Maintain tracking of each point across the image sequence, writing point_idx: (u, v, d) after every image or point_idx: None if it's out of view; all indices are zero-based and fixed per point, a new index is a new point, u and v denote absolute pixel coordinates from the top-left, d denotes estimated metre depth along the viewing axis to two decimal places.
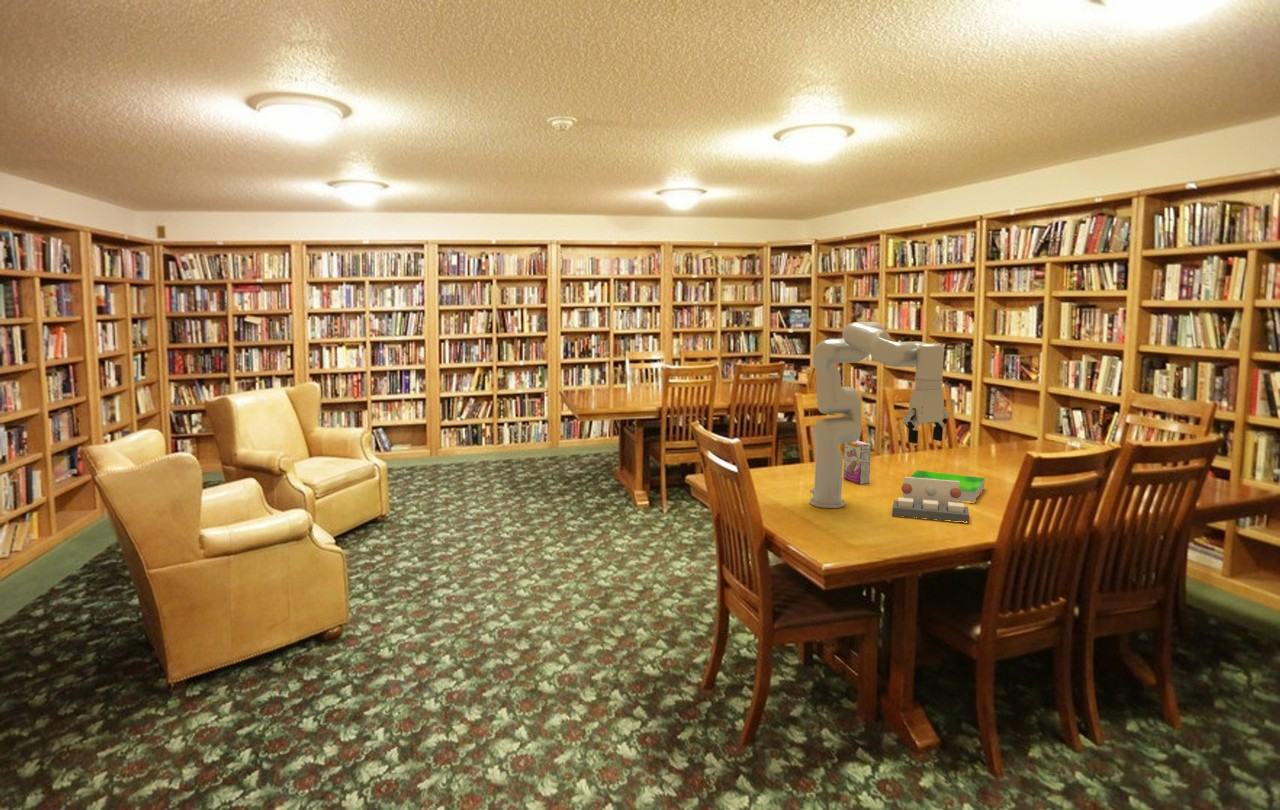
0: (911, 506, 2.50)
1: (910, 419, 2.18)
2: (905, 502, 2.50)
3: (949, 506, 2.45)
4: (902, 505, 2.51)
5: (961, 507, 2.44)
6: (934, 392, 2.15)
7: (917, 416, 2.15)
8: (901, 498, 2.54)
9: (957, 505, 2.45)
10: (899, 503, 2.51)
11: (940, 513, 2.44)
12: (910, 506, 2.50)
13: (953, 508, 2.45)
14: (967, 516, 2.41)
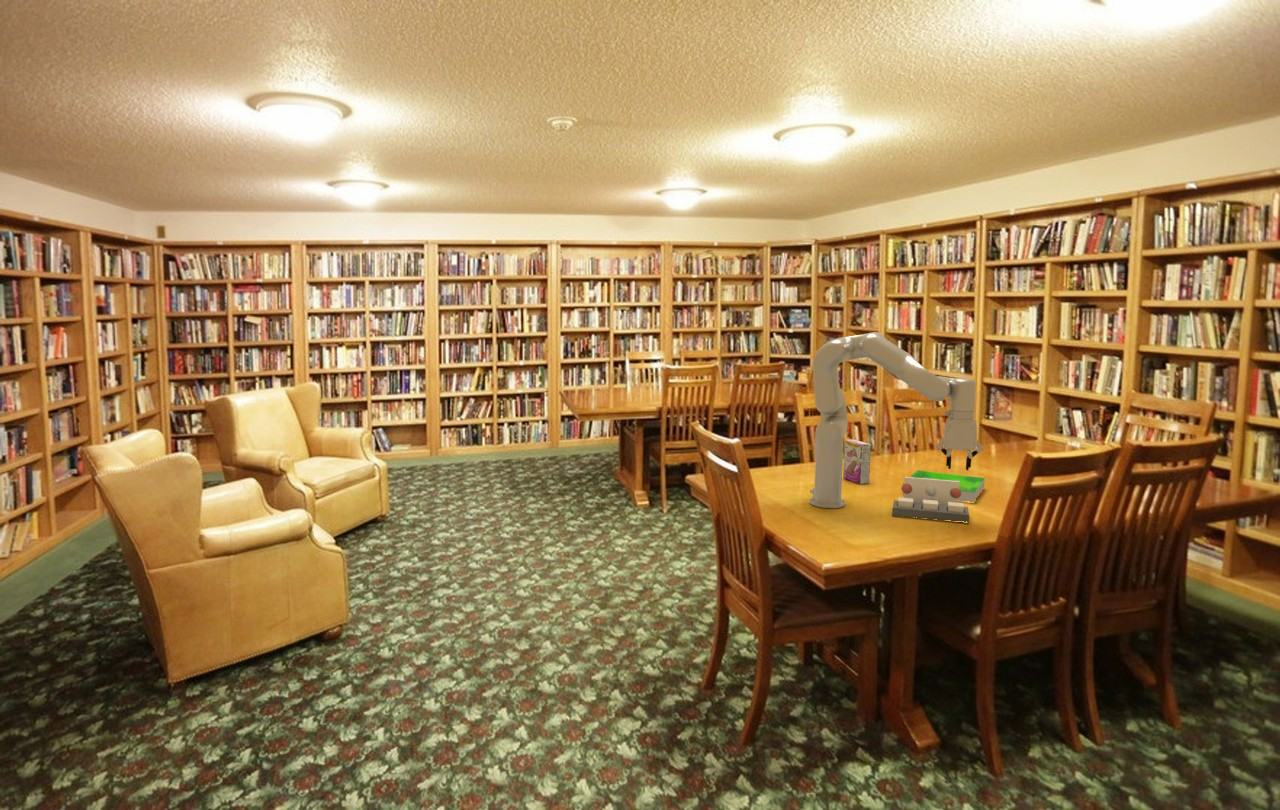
0: (911, 506, 2.50)
1: (975, 447, 2.41)
2: (905, 502, 2.50)
3: (949, 506, 2.45)
4: (902, 505, 2.51)
5: (961, 507, 2.44)
6: None
7: None
8: (901, 498, 2.54)
9: (957, 505, 2.45)
10: (899, 503, 2.51)
11: (940, 513, 2.44)
12: (910, 506, 2.50)
13: (953, 508, 2.45)
14: (967, 516, 2.41)
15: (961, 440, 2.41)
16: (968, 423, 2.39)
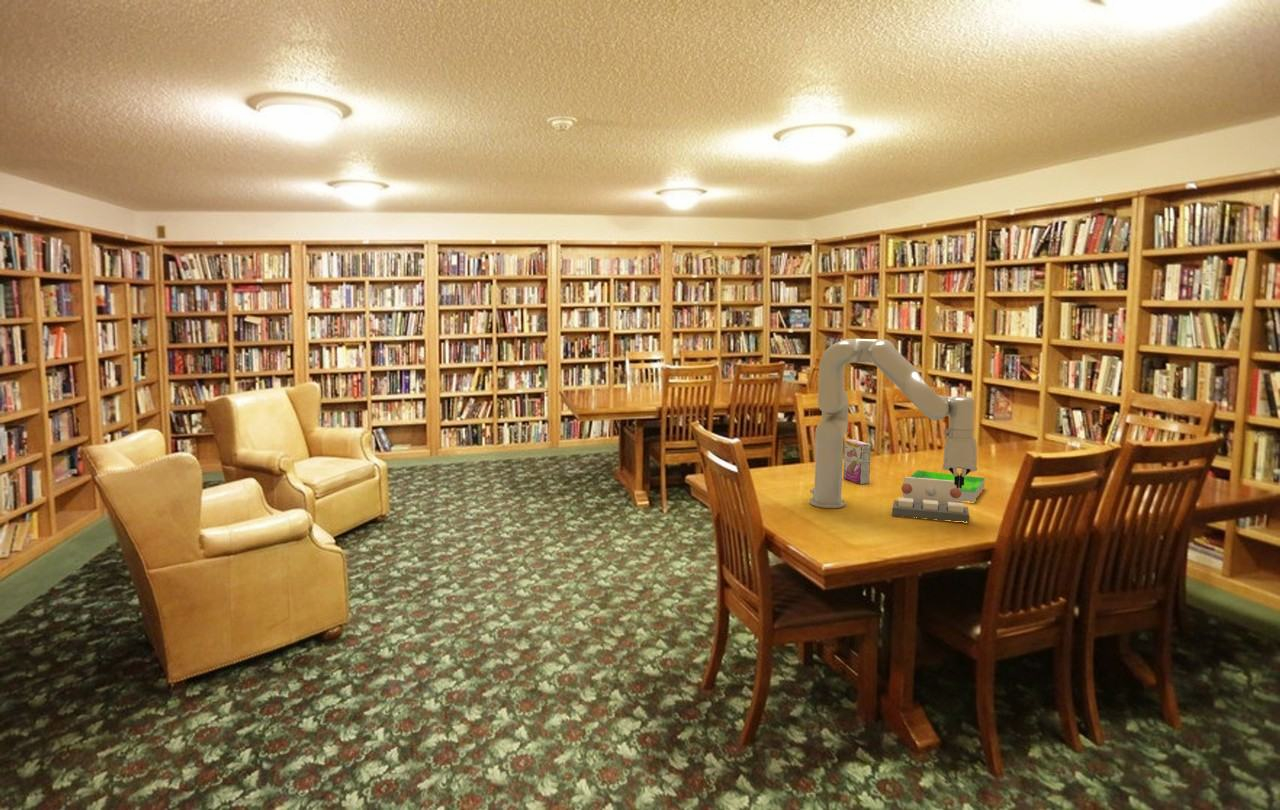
0: (911, 506, 2.50)
1: (975, 465, 2.41)
2: (905, 502, 2.50)
3: (949, 506, 2.45)
4: (902, 505, 2.51)
5: (961, 507, 2.44)
6: None
7: None
8: (901, 498, 2.54)
9: (957, 505, 2.45)
10: (899, 503, 2.51)
11: (940, 513, 2.44)
12: (910, 506, 2.50)
13: (953, 508, 2.45)
14: (967, 516, 2.41)
15: (961, 458, 2.42)
16: (968, 441, 2.40)
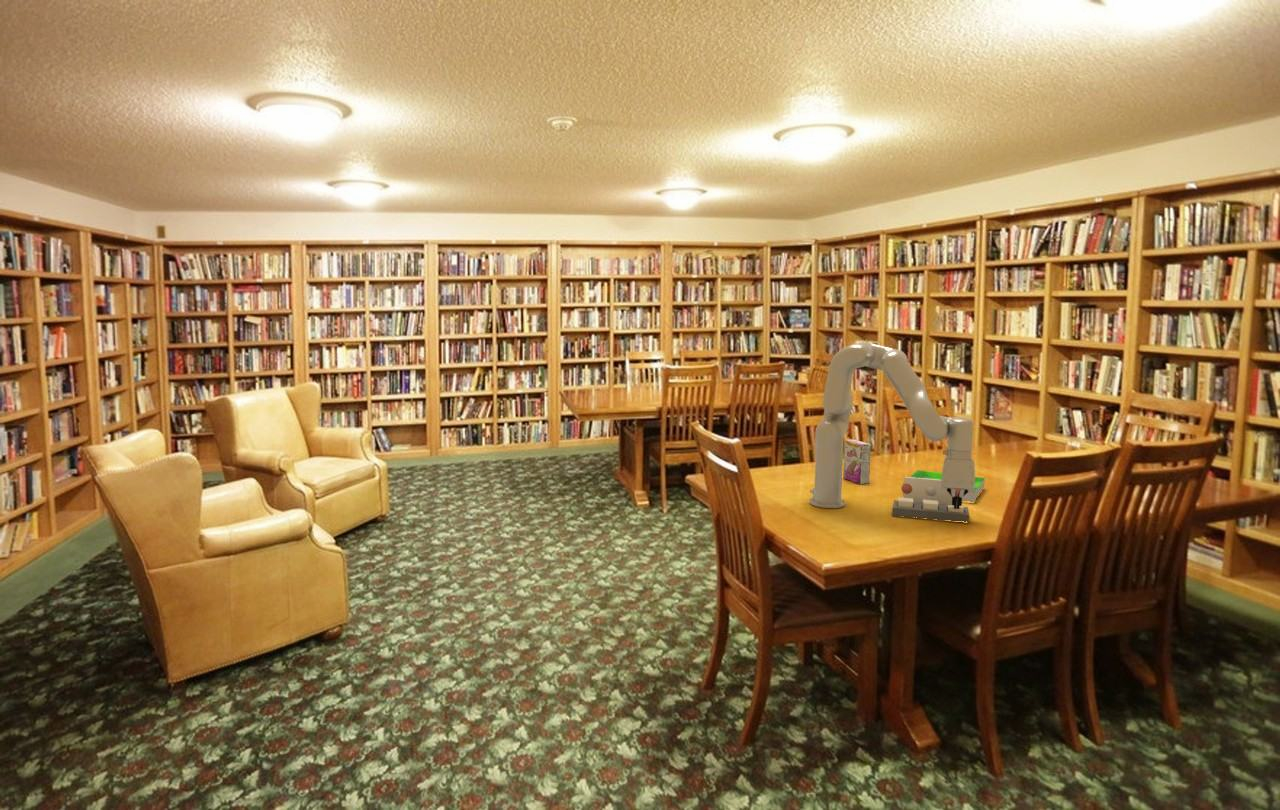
0: (911, 506, 2.50)
1: (973, 486, 2.42)
2: (905, 502, 2.50)
3: (949, 509, 2.45)
4: (902, 505, 2.51)
5: (961, 510, 2.44)
6: None
7: None
8: (901, 498, 2.54)
9: (957, 508, 2.46)
10: (899, 503, 2.51)
11: (940, 513, 2.44)
12: (910, 506, 2.50)
13: (953, 511, 2.45)
14: (967, 516, 2.41)
15: (959, 479, 2.43)
16: (966, 462, 2.41)
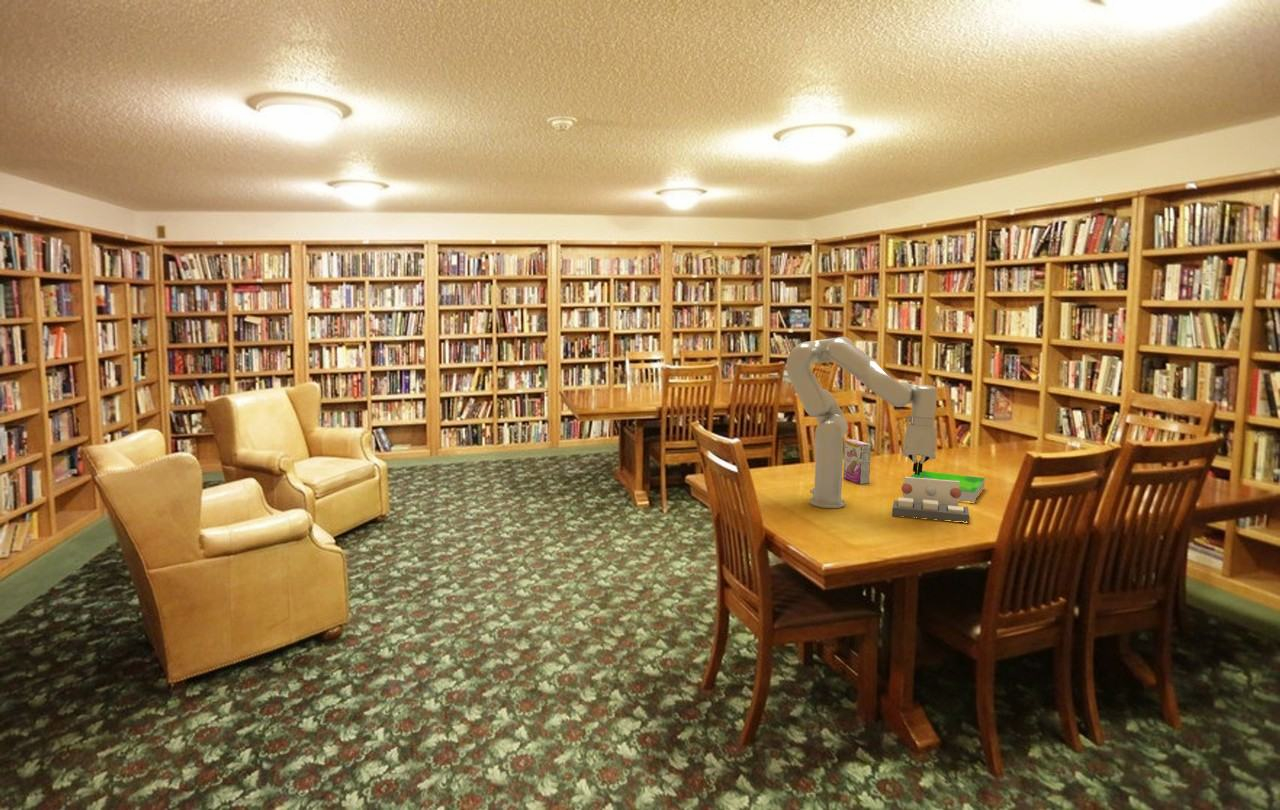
0: (911, 506, 2.50)
1: (934, 453, 2.46)
2: (905, 502, 2.50)
3: (949, 510, 2.45)
4: (902, 505, 2.51)
5: (961, 511, 2.44)
6: None
7: None
8: (901, 498, 2.54)
9: (957, 509, 2.46)
10: (899, 503, 2.51)
11: (940, 513, 2.44)
12: (910, 506, 2.50)
13: None
14: (967, 516, 2.41)
15: (920, 446, 2.46)
16: (928, 429, 2.44)
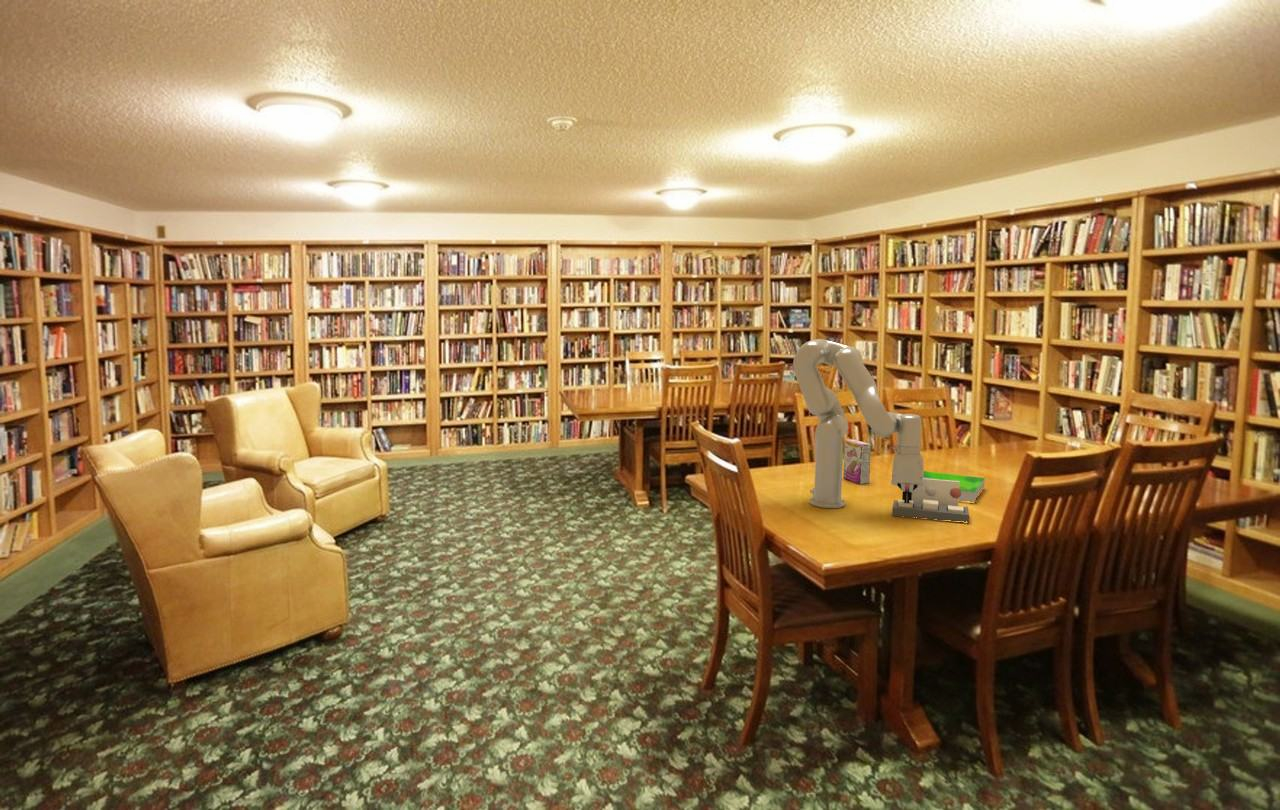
0: None
1: (922, 481, 2.48)
2: (905, 504, 2.50)
3: (949, 510, 2.45)
4: None
5: (961, 511, 2.44)
6: None
7: None
8: (901, 500, 2.54)
9: (957, 509, 2.46)
10: (899, 505, 2.51)
11: (940, 513, 2.44)
12: None
13: None
14: (967, 516, 2.41)
15: (908, 474, 2.48)
16: (915, 458, 2.47)
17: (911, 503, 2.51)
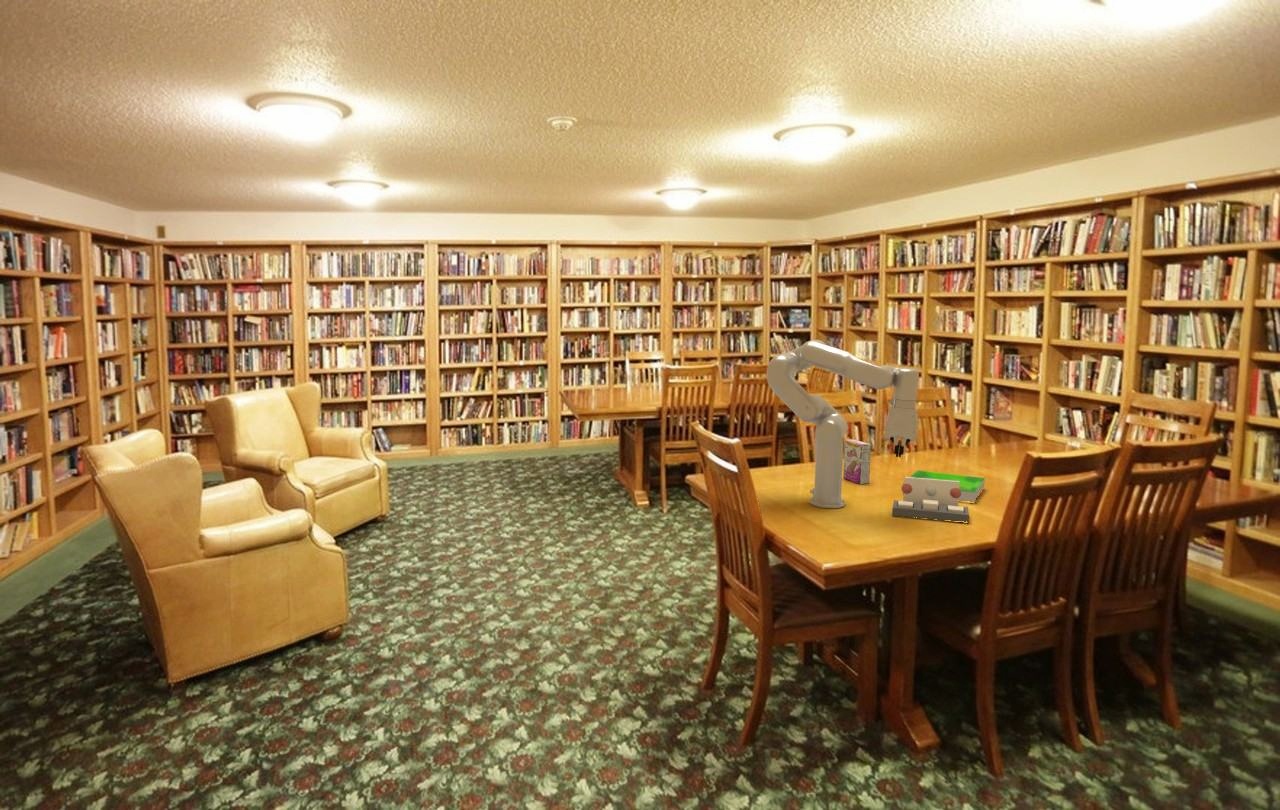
0: None
1: (915, 436, 2.48)
2: (905, 506, 2.51)
3: (949, 510, 2.45)
4: None
5: (961, 511, 2.44)
6: None
7: None
8: (901, 501, 2.54)
9: (957, 509, 2.46)
10: None
11: (940, 513, 2.44)
12: None
13: None
14: (967, 516, 2.41)
15: (902, 428, 2.48)
16: (909, 412, 2.46)
17: (911, 504, 2.51)
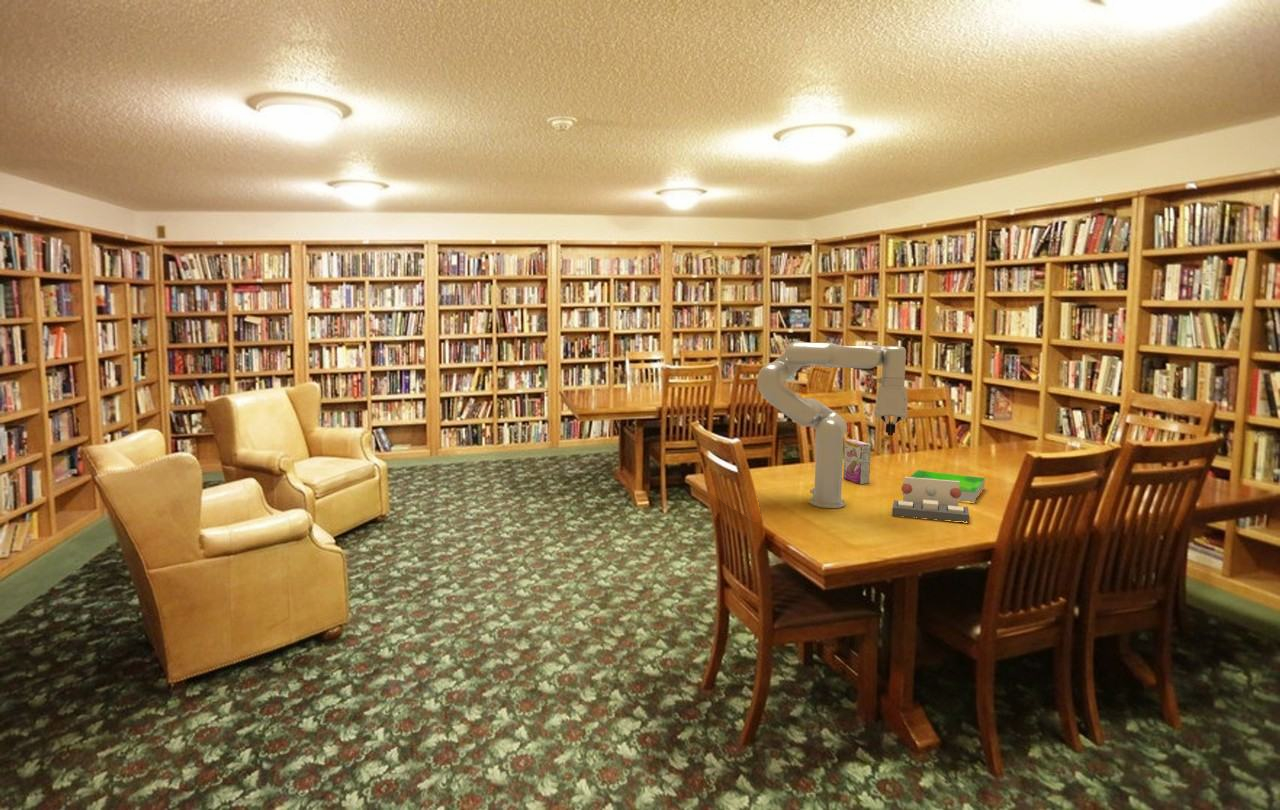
0: None
1: None
2: (905, 506, 2.51)
3: (949, 510, 2.45)
4: None
5: (961, 511, 2.44)
6: None
7: None
8: (901, 501, 2.54)
9: (957, 509, 2.46)
10: None
11: (940, 513, 2.44)
12: None
13: None
14: (967, 516, 2.41)
15: (892, 406, 2.49)
16: (899, 389, 2.47)
17: (911, 504, 2.51)
